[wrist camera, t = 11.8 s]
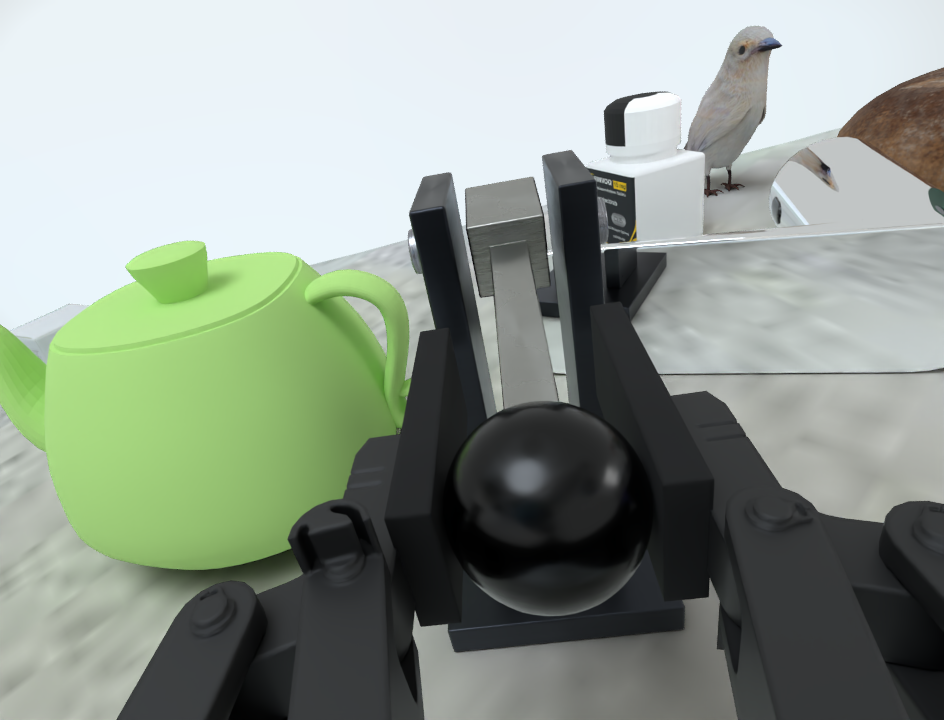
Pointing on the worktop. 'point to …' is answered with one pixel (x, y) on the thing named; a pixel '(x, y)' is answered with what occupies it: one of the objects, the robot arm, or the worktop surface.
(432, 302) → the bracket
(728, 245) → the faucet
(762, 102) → the bird
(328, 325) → the teapot
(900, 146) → the bread
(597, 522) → the lever
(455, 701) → the worktop surface
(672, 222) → the medicine bottle
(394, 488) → the robot arm
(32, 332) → the small box
